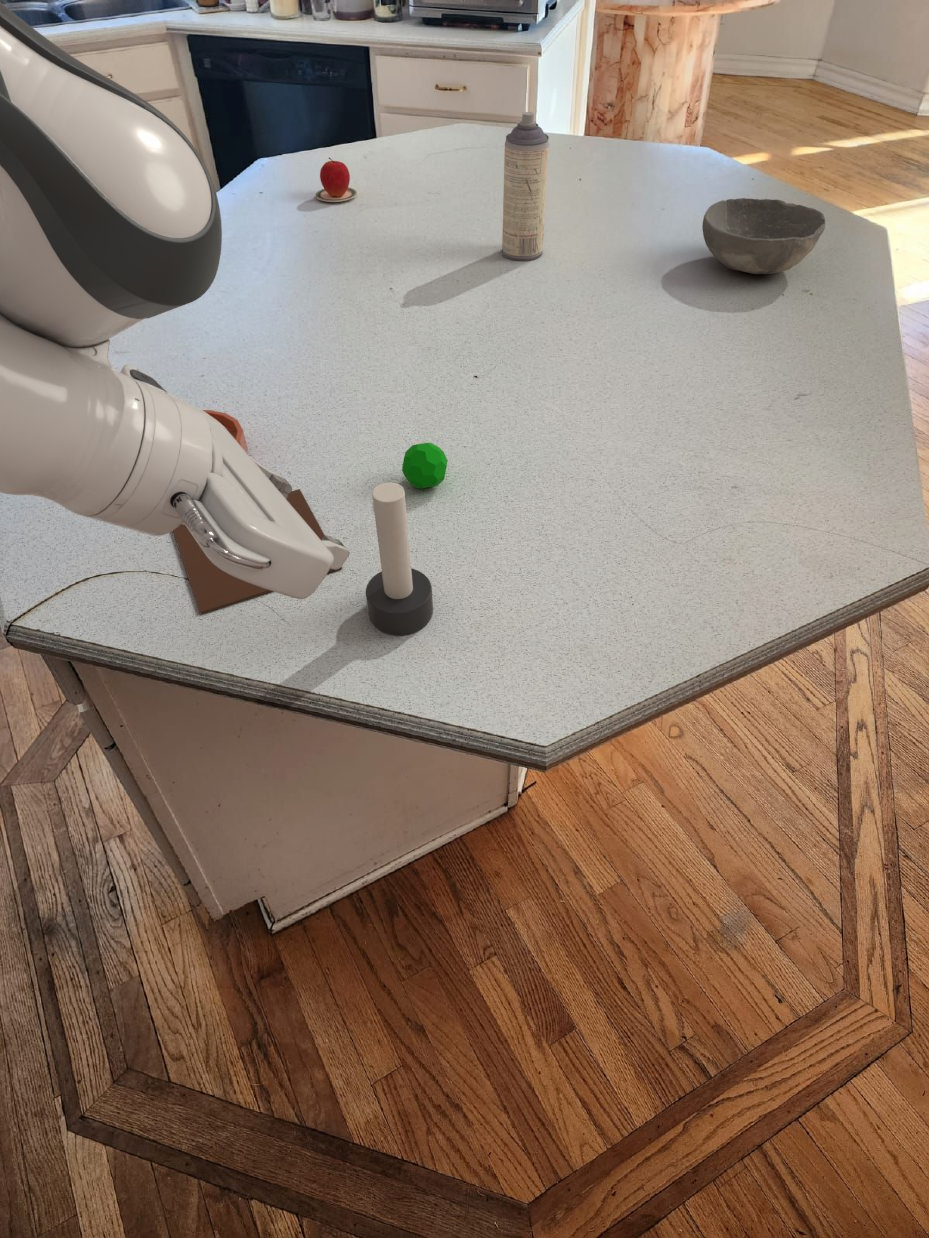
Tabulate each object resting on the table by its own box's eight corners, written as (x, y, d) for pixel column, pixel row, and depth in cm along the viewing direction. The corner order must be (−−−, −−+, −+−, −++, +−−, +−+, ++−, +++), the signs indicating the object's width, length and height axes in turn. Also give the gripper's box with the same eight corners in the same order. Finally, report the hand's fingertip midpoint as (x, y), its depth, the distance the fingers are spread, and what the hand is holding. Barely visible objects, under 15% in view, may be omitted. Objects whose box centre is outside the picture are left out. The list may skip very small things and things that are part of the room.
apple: (323, 188, 150) (318, 151, 145) (362, 191, 148) (358, 153, 144) (310, 203, 144) (304, 164, 139) (350, 205, 143) (345, 167, 138)
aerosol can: (551, 253, 127) (560, 113, 112) (522, 264, 124) (528, 123, 109) (521, 241, 130) (527, 105, 116) (493, 252, 127) (495, 113, 113)
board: (200, 614, 71) (200, 612, 71) (171, 527, 79) (171, 525, 79) (342, 569, 75) (341, 566, 75) (300, 491, 83) (299, 488, 83)
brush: (382, 644, 68) (366, 524, 58) (359, 601, 72) (340, 481, 62) (443, 622, 70) (437, 502, 60) (417, 581, 73) (408, 462, 63)
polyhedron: (455, 476, 85) (454, 440, 81) (437, 501, 82) (435, 465, 78) (415, 466, 86) (412, 430, 83) (395, 490, 83) (392, 454, 80)
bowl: (671, 258, 125) (681, 206, 119) (752, 237, 130) (765, 186, 124) (748, 300, 114) (763, 245, 108) (833, 276, 119) (851, 222, 114)
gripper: (239, 507, 41) (404, 565, 52) (120, 353, 53) (276, 427, 63) (184, 598, 43) (355, 636, 54) (79, 430, 54) (238, 489, 65)
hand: (311, 522), depth 59 cm, fingers open, 8 cm apart
